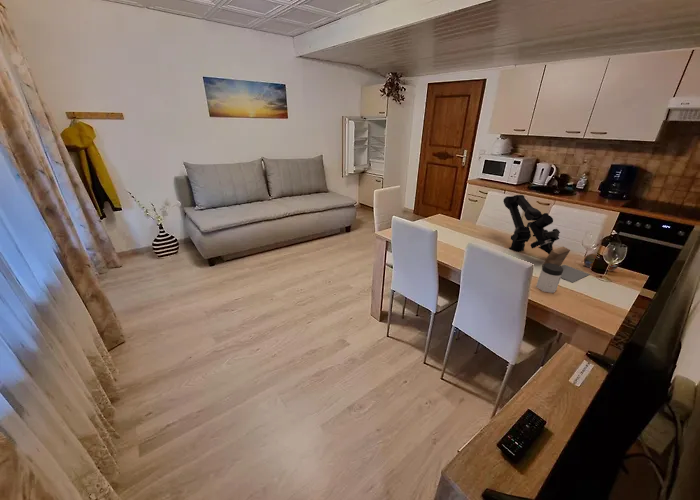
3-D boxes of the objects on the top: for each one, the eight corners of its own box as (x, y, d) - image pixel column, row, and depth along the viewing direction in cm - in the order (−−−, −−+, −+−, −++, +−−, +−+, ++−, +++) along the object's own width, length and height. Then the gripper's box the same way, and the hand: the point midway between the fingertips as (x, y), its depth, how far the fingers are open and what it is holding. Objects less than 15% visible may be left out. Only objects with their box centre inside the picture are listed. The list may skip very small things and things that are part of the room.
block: (541, 266, 166) (551, 250, 160) (553, 262, 171) (563, 246, 165) (548, 270, 163) (558, 254, 157) (560, 266, 168) (570, 250, 162)
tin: (582, 266, 168) (587, 253, 165) (581, 264, 171) (586, 251, 167) (615, 273, 162) (621, 259, 159) (613, 270, 165) (619, 257, 161)
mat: (546, 272, 161) (546, 271, 161) (563, 265, 169) (564, 264, 169) (572, 282, 151) (572, 282, 151) (589, 274, 159) (589, 274, 159)
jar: (537, 291, 143) (545, 269, 138) (533, 282, 150) (540, 261, 145) (558, 294, 141) (567, 272, 136) (553, 286, 148) (561, 264, 143)
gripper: (542, 226, 158) (557, 253, 154) (560, 222, 167) (575, 246, 163) (524, 235, 168) (538, 260, 163) (542, 230, 176) (556, 254, 172)
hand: (552, 255), depth 165 cm, fingers closed
